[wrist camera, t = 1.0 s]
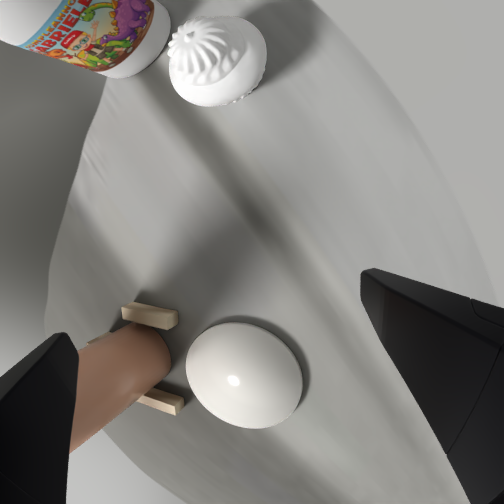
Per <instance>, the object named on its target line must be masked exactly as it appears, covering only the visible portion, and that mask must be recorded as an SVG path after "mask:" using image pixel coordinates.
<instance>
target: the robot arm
mask: <svg viewBox="0 0 504 504" xmlns="http://www.w3.org/2000/svg"><path fill="white" fill-rule="evenodd" d="M360 296H361V301H362V304H363V306H364V308H365V310H366V312H367V314H368V316H369V318H370V320H371V322H372V324H373V327H374V329H375V331H376V333H377V335H378V337H379V339H380V341H381V343H382V345H383V346H384V348H385V350H386V351H387V353H388V355H389V356H390V358H391V359H392V361H393V363H394V364H395V366H396V368H397V369H398V371H399V373H400V374H401V376H402V378H403V379H404V381H405V383H406V384H407V386H408V388H409V389H410V391H411V393H412V395H413V396H414V398H415V400H416V401H417V403H418V405H419V407H420V408H421V410H422V412H423V414H424V415H425V417H426V419H427V421H428V423H429V424H430V426H431V428H432V430H433V432H434V433H435V435H436V437H437V439H438V441H439V443H440V444H441V446H442V448H443V450H444V452H445V454H447V458H448V460H449V462H450V464H451V466H452V467H453V469H454V471H455V473H456V475H457V477H458V479H459V481H460V483H461V485H462V487H463V489H464V491H465V493H466V495H467V497H468V499H469V501H470V503H471V504H504V308H501V307H497V306H494V305H491V304H488V303H484V302H481V301H478V300H475V299H470V298H469V297H466V296H462V295H459V294H456V293H453V292H450V291H447V290H444V289H440V288H437V287H434V286H431V285H428V284H425V283H421V282H418V281H415V280H412V279H409V278H406V277H402V276H399V275H396V274H393V273H389V272H386V271H383V270H380V269H376V268H371V269H368V270H364V271H362V273H361V285H360ZM78 369H79V354H78V352H77V350H76V348H75V346H74V345H73V343H72V341H71V339H70V337H69V336H68V334H67V333H65V332H61V333H55V334H53V335H52V336H51V337H49V338H48V339H47V340H45V341H44V342H43V343H42V344H41V345H39V346H38V347H37V348H35V349H34V350H33V351H32V352H30V353H29V354H28V355H27V356H26V357H24V358H23V359H22V360H21V361H19V362H18V363H17V364H16V365H14V366H13V367H12V368H11V369H10V370H8V371H7V372H6V373H5V374H4V375H2V376H1V377H0V504H66V490H67V473H68V462H69V451H70V442H71V433H72V426H73V418H74V412H75V405H76V395H77V381H78Z"/></svg>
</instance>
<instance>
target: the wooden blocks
mask: <svg viewBox="0 0 504 504" xmlns="http://www.w3.org/2000/svg"><path fill="white" fill-rule="evenodd" d="M122 317H123V319H126V320H129V321H133V322H137V323H141V324H145V325H149V326H153V327H157V328H161V329H165V330H169V329H170V328H172V327H174V326H175V325H177V324H178V311H175V310H170V309H165V308H160V307H155V306H150V305H146V304H141V303H136V302H132V303H129V304H127V305H125V306H123V307H122ZM109 334H111V332H107V333H105V334H103V335H101V336H99V337H97V338H95V339H93V340H91V341H89V342H87V343H86V345H87V346H88V345H90V344H92V343H93V342H95V341H97V340H99V339H101V338H103V337H105V336H107V335H109ZM137 402H140V403H143V404H145V405H148V406H151V407H153V408H156V409H159V410H162V411H164V412H167V413H170V414H173V415H177V414H178V413H179V412H180V411H181V409H182V408H183V407H184V397H180V396H177V395H174V394H171V393H168V392H165V391H162V390H159V389H156V388H151V389H150V390H149V391H148V392H146V393H145V394H144V395H143V396H142V397H140V398H139V399H138V400H137Z"/></svg>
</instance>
